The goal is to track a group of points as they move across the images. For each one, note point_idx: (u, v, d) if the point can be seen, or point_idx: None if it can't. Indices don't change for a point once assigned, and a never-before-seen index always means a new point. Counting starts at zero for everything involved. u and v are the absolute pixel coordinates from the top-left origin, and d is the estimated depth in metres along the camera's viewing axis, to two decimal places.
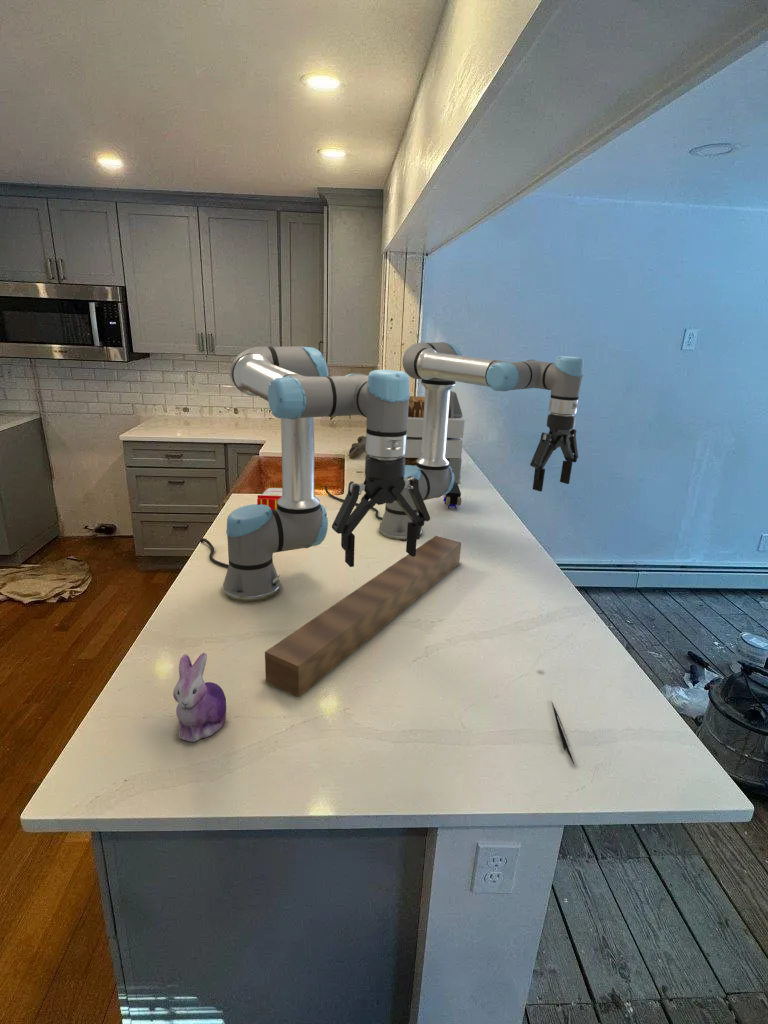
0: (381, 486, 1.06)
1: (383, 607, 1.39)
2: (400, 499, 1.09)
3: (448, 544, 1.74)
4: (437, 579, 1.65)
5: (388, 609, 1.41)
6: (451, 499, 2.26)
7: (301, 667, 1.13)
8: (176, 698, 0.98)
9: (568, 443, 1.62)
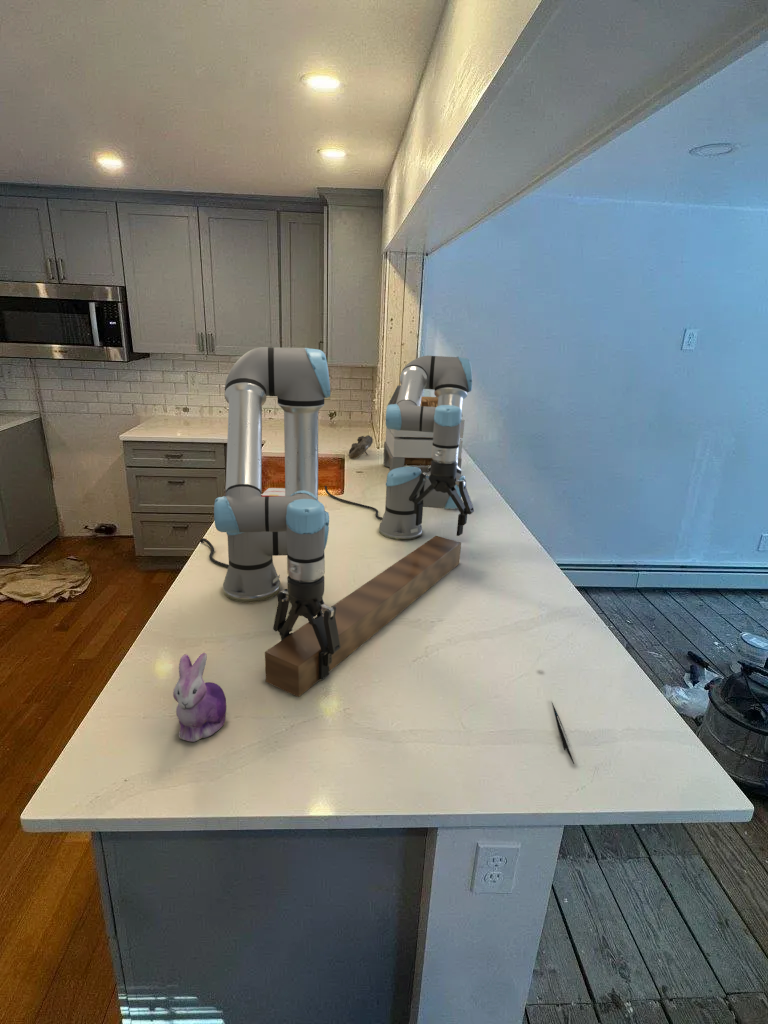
0: (297, 599, 1.17)
1: (383, 607, 1.39)
2: (309, 619, 1.16)
3: (448, 544, 1.74)
4: (437, 579, 1.65)
5: (388, 608, 1.41)
6: None
7: (301, 667, 1.13)
8: (176, 698, 0.98)
9: (448, 491, 1.63)
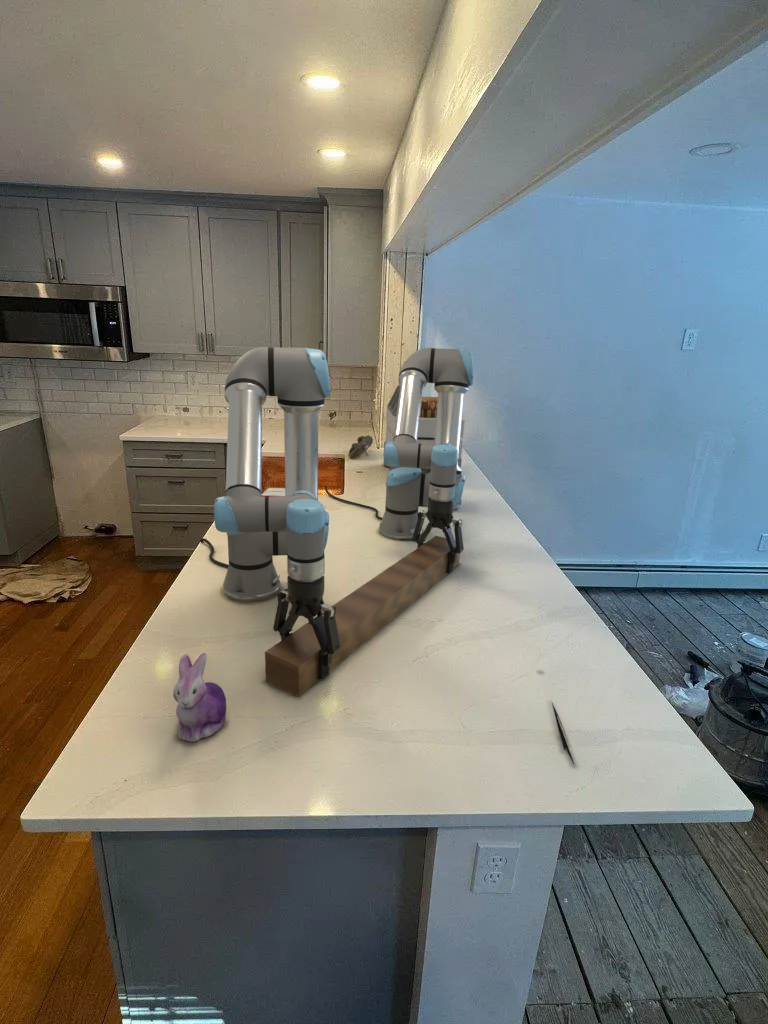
0: (297, 599, 1.17)
1: (383, 607, 1.39)
2: (309, 619, 1.16)
3: None
4: (437, 579, 1.65)
5: (388, 608, 1.41)
6: None
7: (301, 667, 1.13)
8: (176, 698, 0.98)
9: (443, 529, 1.67)
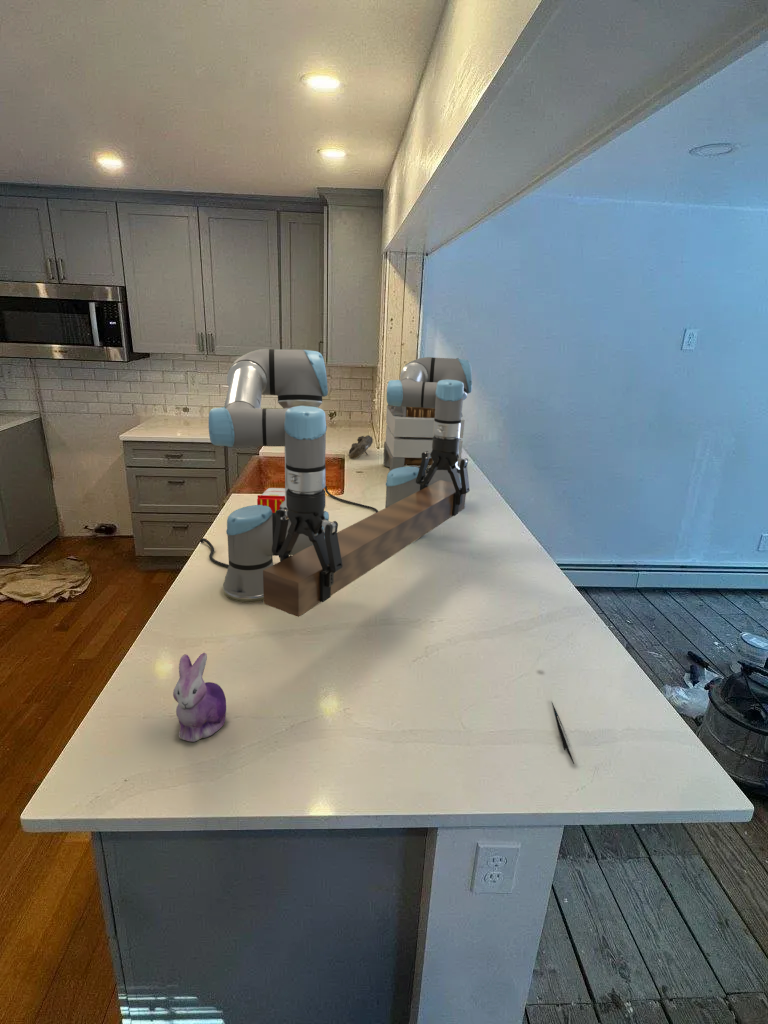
0: (297, 516, 1.11)
1: (386, 538, 1.33)
2: (309, 536, 1.10)
3: (453, 487, 1.68)
4: (442, 520, 1.60)
5: (391, 540, 1.35)
6: None
7: (301, 584, 1.07)
8: (176, 698, 0.98)
9: (448, 468, 1.61)
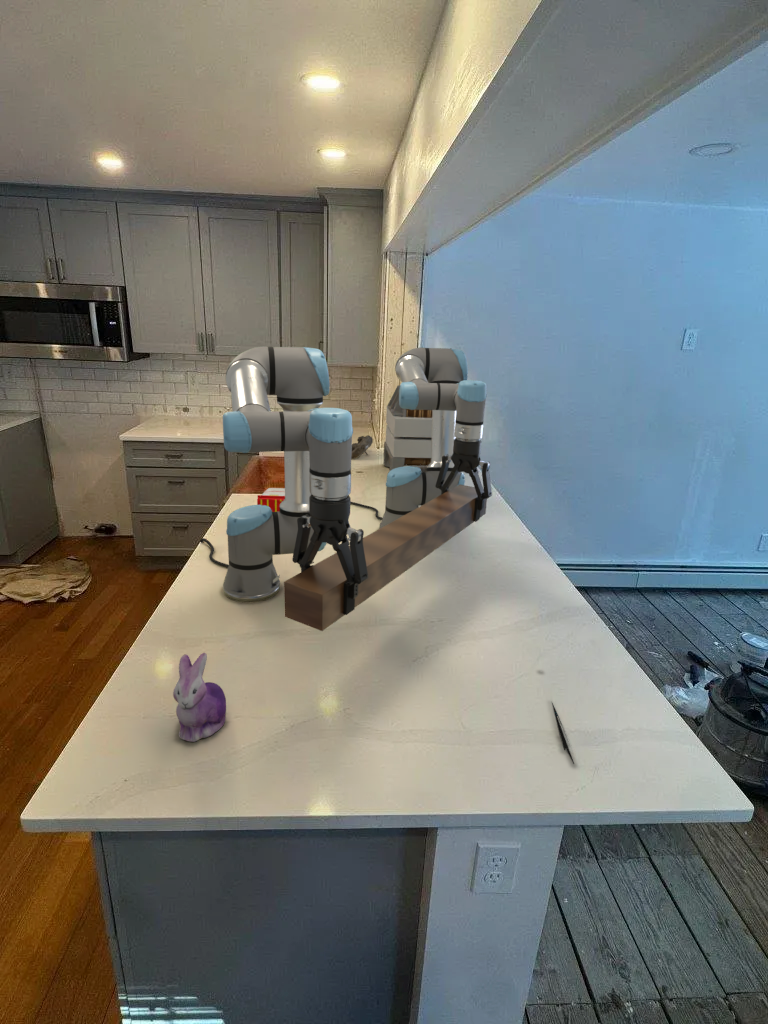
0: (320, 523, 1.05)
1: (410, 545, 1.27)
2: (333, 544, 1.04)
3: (474, 491, 1.62)
4: (464, 526, 1.53)
5: (415, 548, 1.29)
6: None
7: (325, 597, 1.01)
8: (176, 698, 0.98)
9: (470, 472, 1.55)
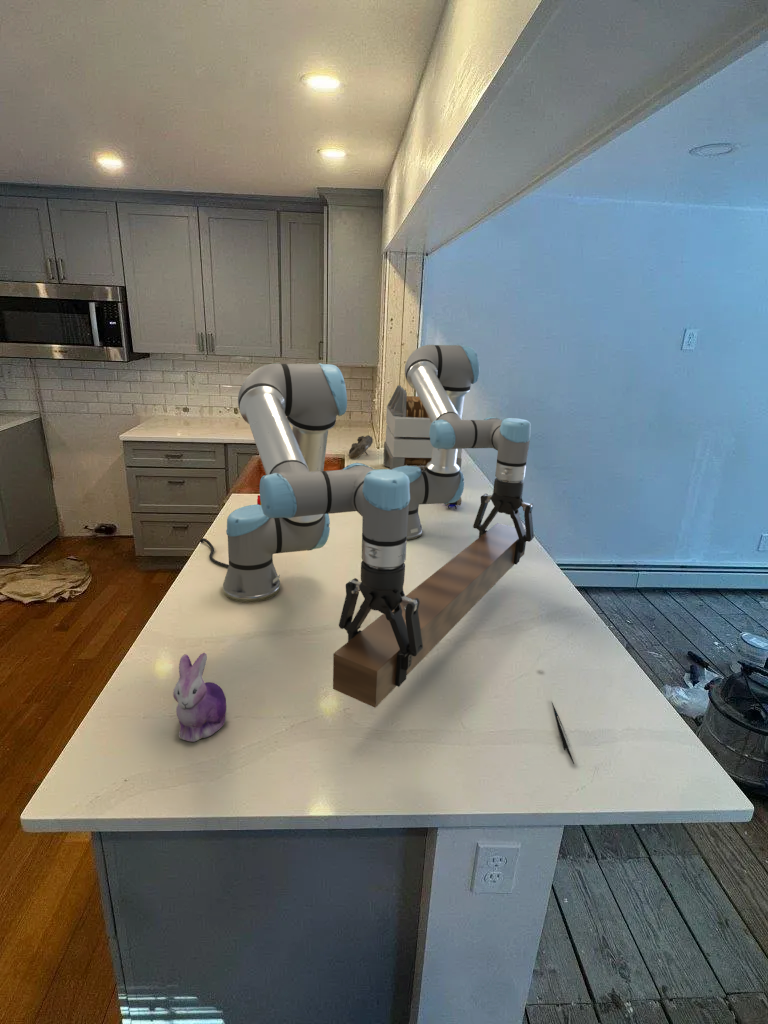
0: (372, 591, 0.98)
1: (457, 601, 1.20)
2: (387, 614, 0.97)
3: (514, 532, 1.55)
4: (505, 571, 1.46)
5: (461, 603, 1.22)
6: None
7: (380, 672, 0.94)
8: (176, 698, 0.98)
9: (511, 514, 1.48)
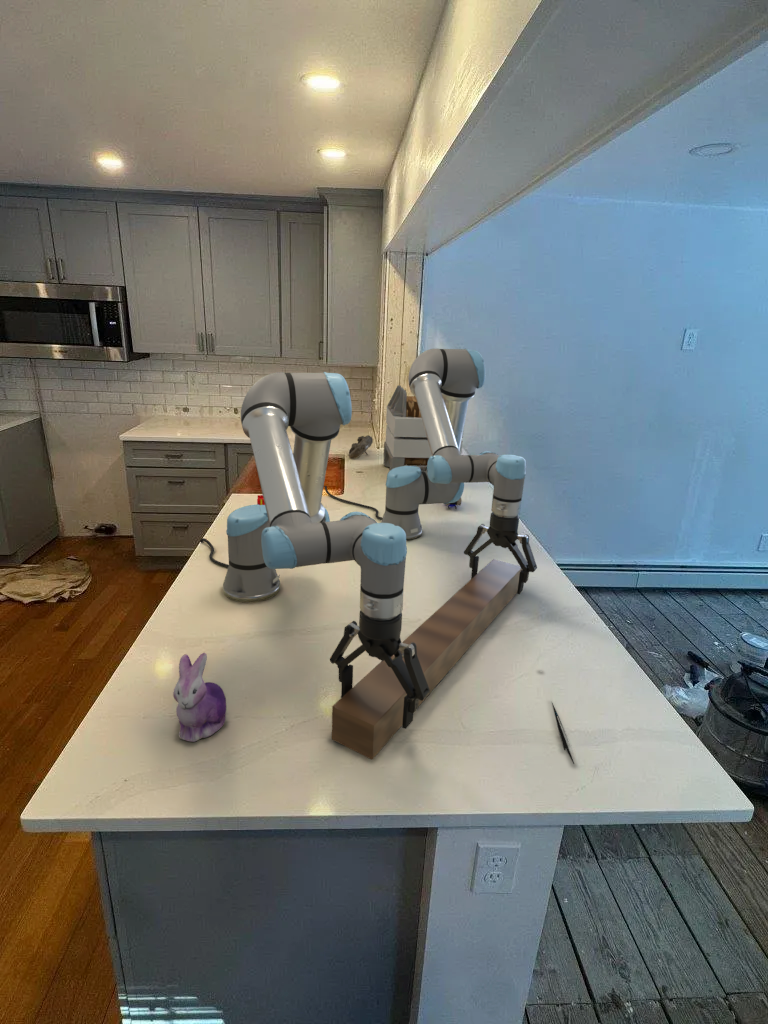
0: (371, 639, 1.01)
1: (452, 647, 1.24)
2: (387, 661, 1.00)
3: (509, 569, 1.59)
4: (500, 609, 1.50)
5: (457, 647, 1.26)
6: None
7: (376, 726, 0.98)
8: (176, 698, 0.98)
9: (509, 547, 1.51)
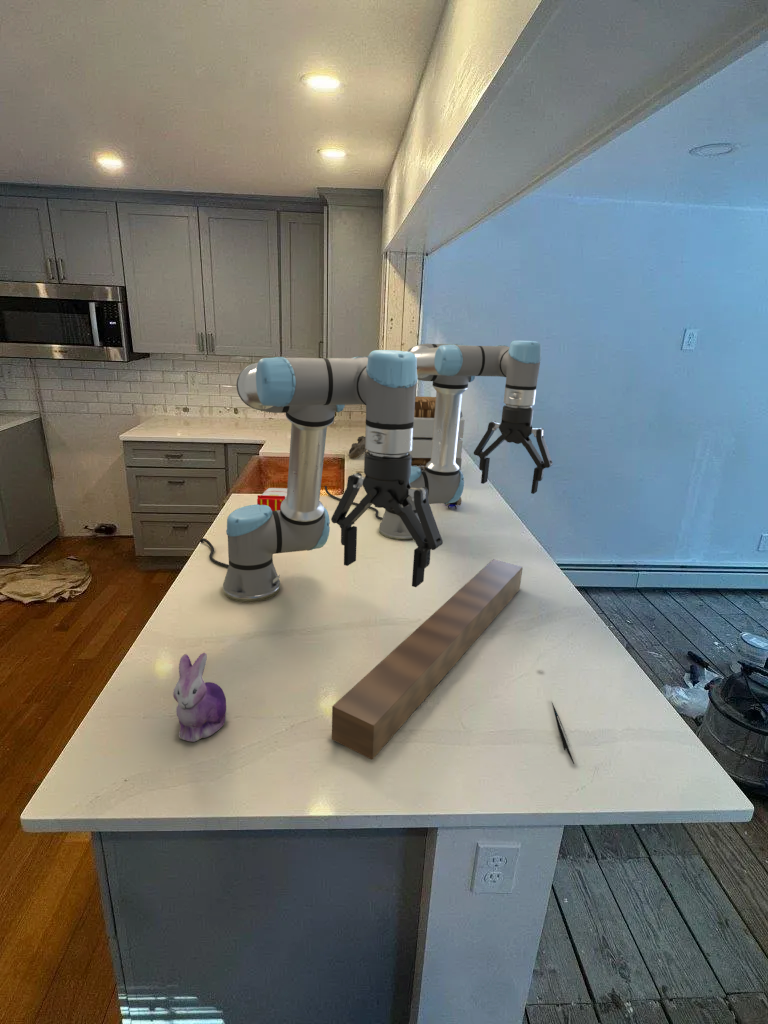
0: (377, 486, 0.91)
1: (452, 647, 1.24)
2: (395, 508, 0.90)
3: (509, 569, 1.59)
4: (500, 609, 1.50)
5: (457, 647, 1.26)
6: None
7: (376, 726, 0.98)
8: (176, 698, 0.98)
9: (523, 441, 1.41)
